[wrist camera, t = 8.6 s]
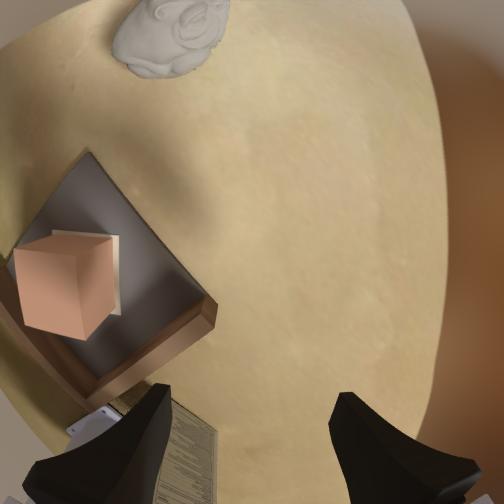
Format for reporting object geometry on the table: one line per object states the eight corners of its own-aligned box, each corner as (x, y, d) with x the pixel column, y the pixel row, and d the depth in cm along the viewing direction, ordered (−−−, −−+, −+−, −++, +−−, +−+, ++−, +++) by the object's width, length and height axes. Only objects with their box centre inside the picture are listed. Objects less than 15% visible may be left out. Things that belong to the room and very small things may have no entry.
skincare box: (140, 413, 22) (103, 521, 10) (169, 395, 21) (137, 517, 10) (191, 449, 23) (178, 552, 11) (222, 433, 23) (219, 547, 11)
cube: (115, 307, 19) (85, 340, 14) (61, 298, 19) (25, 325, 14) (112, 238, 18) (75, 255, 13) (55, 233, 17) (13, 248, 13)
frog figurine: (245, 71, 16) (249, 17, 9) (146, 111, 17) (102, 78, 10) (215, 9, 15) (207, -51, 8) (124, 47, 15) (84, 1, 8)
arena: (104, 390, 21) (90, 414, 18) (4, 272, 18) (-20, 284, 15) (218, 304, 20) (214, 328, 16) (90, 152, 17) (64, 147, 14)
